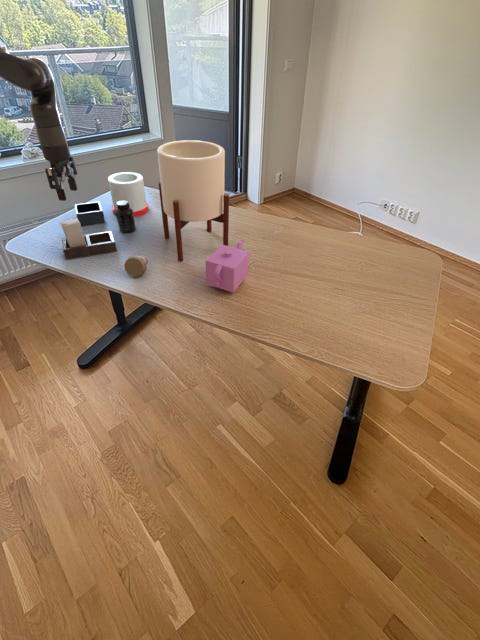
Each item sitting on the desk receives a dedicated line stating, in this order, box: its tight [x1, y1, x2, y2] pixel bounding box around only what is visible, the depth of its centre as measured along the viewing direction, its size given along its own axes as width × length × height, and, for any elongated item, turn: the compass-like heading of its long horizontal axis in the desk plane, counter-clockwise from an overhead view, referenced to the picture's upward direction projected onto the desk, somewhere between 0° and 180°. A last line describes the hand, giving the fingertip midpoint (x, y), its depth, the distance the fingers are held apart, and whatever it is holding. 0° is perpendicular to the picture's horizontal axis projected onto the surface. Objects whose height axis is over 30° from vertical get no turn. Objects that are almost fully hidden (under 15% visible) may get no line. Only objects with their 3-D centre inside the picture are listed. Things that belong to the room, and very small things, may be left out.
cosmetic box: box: [60, 217, 87, 248], centre depth 127 cm, size 6×4×12 cm
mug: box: [123, 255, 149, 278], centre depth 121 cm, size 8×10×10 cm
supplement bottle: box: [115, 201, 137, 235], centre depth 141 cm, size 7×7×12 cm
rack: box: [61, 230, 118, 261], centre depth 131 cm, size 18×10×4 cm, turn 114°
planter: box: [157, 139, 230, 262], centre depth 127 cm, size 22×22×36 cm
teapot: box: [205, 239, 250, 293], centre depth 117 cm, size 20×10×12 cm, turn 155°
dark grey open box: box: [74, 201, 106, 228], centre depth 149 cm, size 10×10×6 cm
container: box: [107, 171, 149, 218], centre depth 156 cm, size 16×16×15 cm
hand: (68, 195), depth 114 cm, fingers open, 8 cm apart
